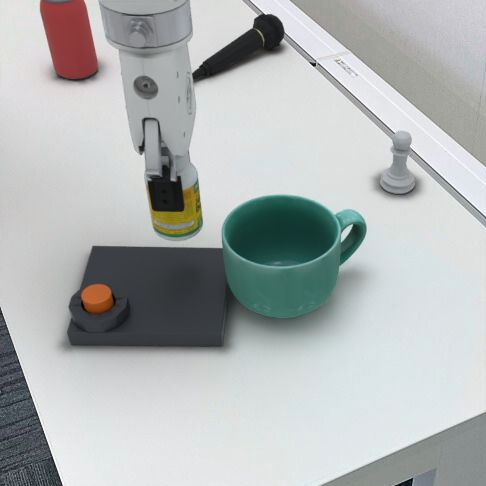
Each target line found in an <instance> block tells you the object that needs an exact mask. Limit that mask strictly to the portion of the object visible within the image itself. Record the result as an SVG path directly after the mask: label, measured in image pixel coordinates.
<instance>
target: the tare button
mask: <svg viewBox="0 0 486 486" xmlns="http://www.w3.org/2000/svg"><path fill="white" fill-rule="evenodd" d="M81 297H82V301H83V304H84V308H85V310H86V311H87V312H89V313H92V314H101V313H104V312H107V311H109V310H110V309H111V308H112V306H113V303H114V302H113V298H112V293H111V290H110V288H109V287H107V286H106V285H102V284H95V285H91V286H89V287H87V288H85V289H84V290H83V292H82V295H81Z"/></svg>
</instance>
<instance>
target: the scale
mask: <svg viewBox="0 0 486 486" xmlns="http://www.w3.org/2000/svg"><path fill="white" fill-rule="evenodd" d="M95 284H102V285H106V286H107V287H109V288H110V290H111V293H112V298H113V302H114V303H113V306H112V308H111V309H110V310H109V311H107V312H104V313H101V314H92V313H89V312H87V311H86V310H85V308H84V304H83V301H82V297H81V295H82V292H83V290H84V289H85V288H87V287H89V286H91V285H95ZM229 291H230V287H229V284H228V281H227V277H226V272H225V266H224V258H223V248H222V247H190V246H188V247H186V246H185V247H184V246H181V247H180V246H133V245H132V246H129V245H128V246H125V245H92V247H91V250H90V253H89V257H88V261H87V264H86V267H85V270H84V273H83V277H82V280H81V285H80V287H79V290H77V291H76V292H75V293H74V294H73V295H71V296H70V300H69V303H68V310H69V313H70V321H69V324H68V327H67V331H66V335H67V337H68V341H69V343H70V345H71V346H72V345H73V346H74V345H76V346H77V345H78V346H161V347H163V346H165V347H166V346H167V347H168V346H174V347H175V346H176V347H223V346H224V337H225V329H226V328H225V327H226V320H227V310H228V302H229V301H228V300H229Z"/></svg>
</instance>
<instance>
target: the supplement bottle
mask: <svg viewBox="0 0 486 486" xmlns="http://www.w3.org/2000/svg"><path fill="white" fill-rule="evenodd" d="M161 147H167V146H166V144H165V143H164V142H161ZM189 155H190V151H189V152H187V153H186V154H185V155H184V156H180V155H176V164H177V176H181V181H182V189H183V196H184V204H185V208H184V211H183V212H156V211H153V210H152V206H151V201H150V195H149V189H148V183H147V176H146V171H145V170H144V172H143V179H144V186H145V191H146V197H147V202H148V209H149V214H150V221H151V226H152V229H153V231H154V232H155V234H156V235H157V236H158V237H160V238H161V239H163V240H166V241H170V242H183V241H187V240H190V239H192V238H194V237H196V236H197V235H198V234H199V233H200V232H201V230H203V227H204V219H203V217H204V216H203V210H202V202H201V192H200V191H201V189H200V182H199V173H198V169H197V167H196V166H195V165H194V164H193V162H191V157H190V158H189ZM161 162H162V164H163V165H167V166H168V167H169V158H168V156H161Z"/></svg>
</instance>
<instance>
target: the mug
mask: <svg viewBox="0 0 486 486" xmlns="http://www.w3.org/2000/svg"><path fill="white" fill-rule="evenodd" d="M221 227H222V228H221V248H223V258H224V266H225V272H226V277H227V281H228V284H229V290H230V291H231V292H232V294H233V295H234V298H236V299H237V301H238V302H239V303H240V304H241V305H243V306H244V307H245V308H247V309H248V310H250V311H252V312H254V313H256V314H259V315H262V316H265V317H270V318H276V319H277V318H278V319H284V318H285V319H287V318H289V319H290V318H295V317H299V316H303V315H305V314H308V313H310V312H313V311H315V310H316V309H317V308H319V307H321V306H322V305H323V304H324V303H325V302H326V301H327V300H328V299H329V298H330V296H331V295H332V294H333V292H334V290H335V288H336V285H337V284H338V283H337V282H338V279H339V273H340V267H341V266H342V265H344V264H345V263H346V262H347V261H348V260H349V259H350V258H351V257H352V256H353V255H354V254H355V253H356V252H357V250H358V249H359V248H360V247H361V245H362V244H363V242H364V240H365V238H366V235H367V230H368V228H367V222H366V220H365V218H364V217H363V215H362V214H361V213H359V212H358V211H356V210H355V209H352V208H346V209H342V210H340V211H338V212H336V213H335V214H334V213H333V211H331V210H330V209H329V208H328V207H327V206H325V205H324V204H322V203H320V202H319V201H316V200H314V199H311V198H308V197H305V196H300V195H295V194H286V193H285V194H284V193H283V194H269V195H262V196H258V197H254V198H252V199H249V200H246V201H244V202H243V203H241V204H239V205H237V206H236V207H235V208H233V209H232V210H231V211H230V212H229V214H228V215H227V216H226V217H225V219H224V221H223V223H222V226H221ZM348 227H351V229H350V231H348V234H347V235H346V237H344V239H342V234H343V232H344V231H345V230H346V229H347V228H348Z"/></svg>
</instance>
